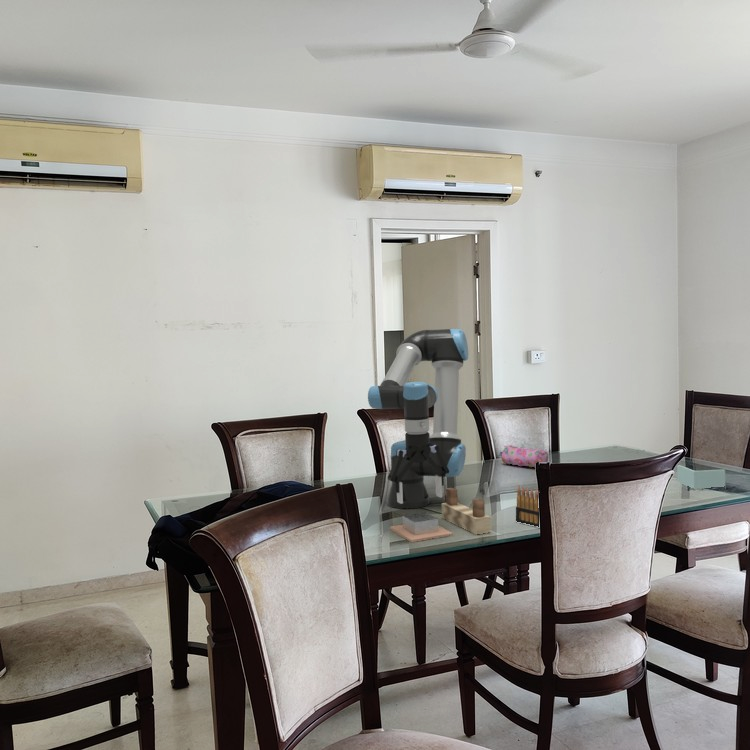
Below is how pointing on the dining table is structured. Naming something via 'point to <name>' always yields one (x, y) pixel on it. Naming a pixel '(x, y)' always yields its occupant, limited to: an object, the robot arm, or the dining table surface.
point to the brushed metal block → (420, 523)
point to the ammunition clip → (527, 507)
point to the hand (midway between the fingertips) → (419, 499)
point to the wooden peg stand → (465, 513)
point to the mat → (415, 538)
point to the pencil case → (523, 456)
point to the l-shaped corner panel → (700, 477)
